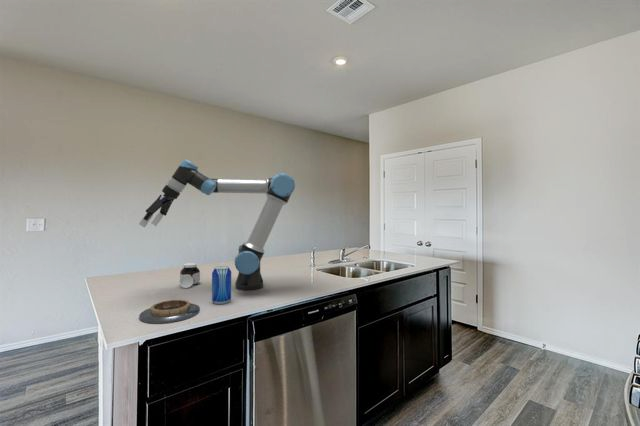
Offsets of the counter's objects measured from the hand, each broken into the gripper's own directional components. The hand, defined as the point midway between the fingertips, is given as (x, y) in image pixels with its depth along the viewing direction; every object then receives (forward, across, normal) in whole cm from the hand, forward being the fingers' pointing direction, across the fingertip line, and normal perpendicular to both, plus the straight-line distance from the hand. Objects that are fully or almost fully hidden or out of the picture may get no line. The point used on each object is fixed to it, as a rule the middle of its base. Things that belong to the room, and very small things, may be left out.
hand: (147, 225), depth 145 cm
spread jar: (+21, -20, +30) cm, 42 cm away
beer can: (+10, +12, +50) cm, 52 cm away
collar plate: (+19, +25, +35) cm, 47 cm away
